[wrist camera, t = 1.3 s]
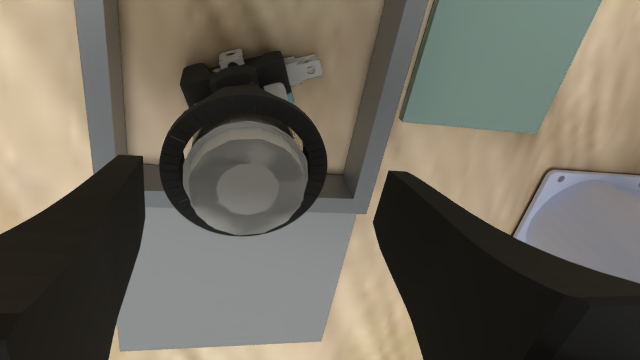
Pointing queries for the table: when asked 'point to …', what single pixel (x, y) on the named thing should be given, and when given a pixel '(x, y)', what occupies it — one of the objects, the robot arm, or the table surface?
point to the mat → (494, 62)
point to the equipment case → (233, 251)
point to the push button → (244, 146)
